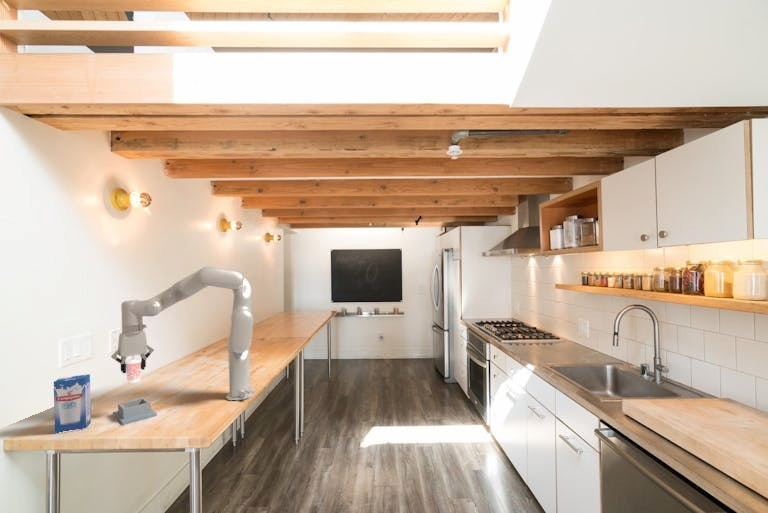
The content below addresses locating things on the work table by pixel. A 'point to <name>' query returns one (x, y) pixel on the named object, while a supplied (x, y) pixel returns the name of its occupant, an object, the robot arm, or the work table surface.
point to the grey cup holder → (134, 411)
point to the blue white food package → (72, 403)
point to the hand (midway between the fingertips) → (133, 370)
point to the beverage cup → (133, 370)
